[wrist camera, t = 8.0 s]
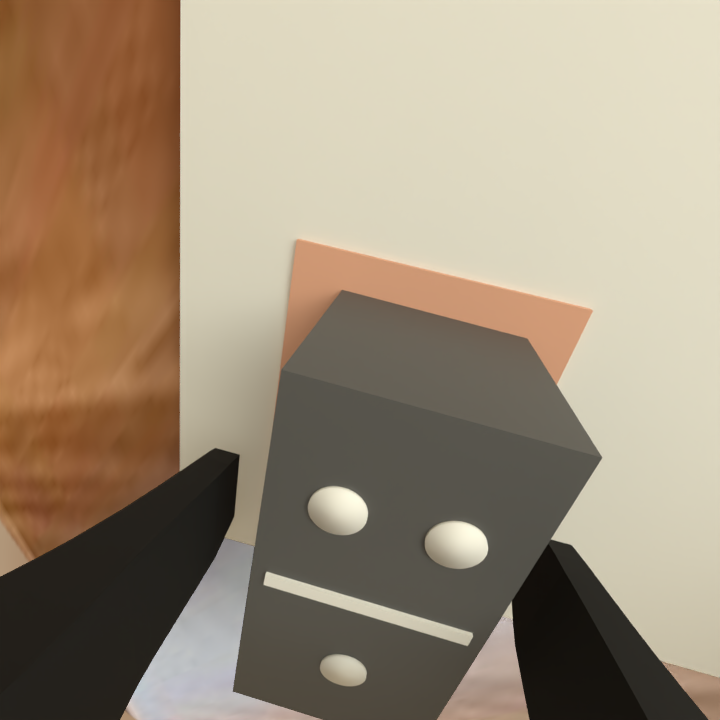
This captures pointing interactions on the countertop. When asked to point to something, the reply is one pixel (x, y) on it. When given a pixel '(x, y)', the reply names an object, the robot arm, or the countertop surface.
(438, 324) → the domino block
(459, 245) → the cream mat
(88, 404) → the countertop surface
